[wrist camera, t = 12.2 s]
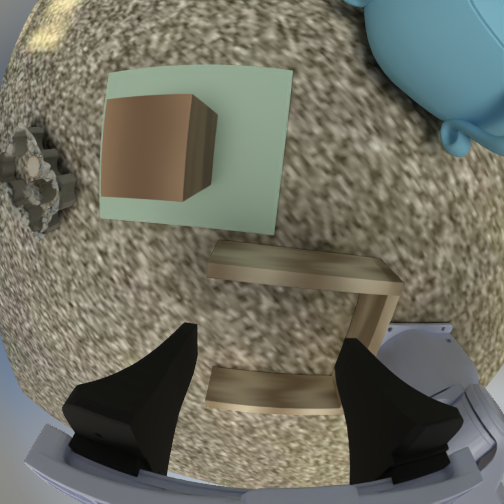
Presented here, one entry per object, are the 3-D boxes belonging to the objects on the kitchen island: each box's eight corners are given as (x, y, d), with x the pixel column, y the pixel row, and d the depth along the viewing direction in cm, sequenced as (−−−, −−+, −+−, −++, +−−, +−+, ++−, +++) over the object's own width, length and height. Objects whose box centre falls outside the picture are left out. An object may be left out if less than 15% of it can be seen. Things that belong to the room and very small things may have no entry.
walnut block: (217, 114, 17) (192, 93, 10) (210, 184, 19) (182, 201, 12) (156, 113, 17) (106, 99, 10) (151, 180, 19) (100, 196, 12)
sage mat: (292, 73, 16) (292, 70, 16) (273, 232, 20) (273, 235, 20) (112, 74, 16) (109, 73, 16) (103, 216, 20) (100, 218, 20)
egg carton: (10, 165, 19) (-16, 170, 15) (42, 113, 17) (14, 112, 14) (51, 240, 22) (25, 254, 18) (89, 192, 20) (60, 201, 16)
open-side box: (380, 258, 21) (404, 282, 16) (337, 381, 25) (346, 414, 21) (218, 239, 21) (207, 262, 16) (212, 373, 26) (205, 406, 21)
